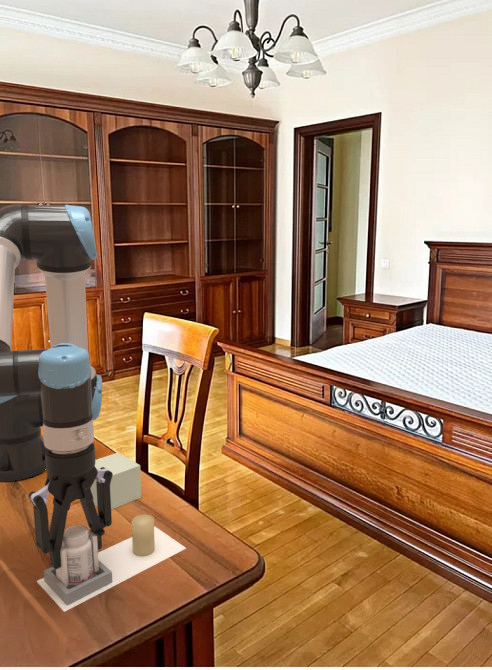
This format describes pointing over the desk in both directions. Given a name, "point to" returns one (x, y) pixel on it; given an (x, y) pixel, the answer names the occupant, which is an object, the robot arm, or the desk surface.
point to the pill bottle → (78, 554)
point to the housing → (120, 479)
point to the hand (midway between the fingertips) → (78, 574)
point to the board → (115, 564)
